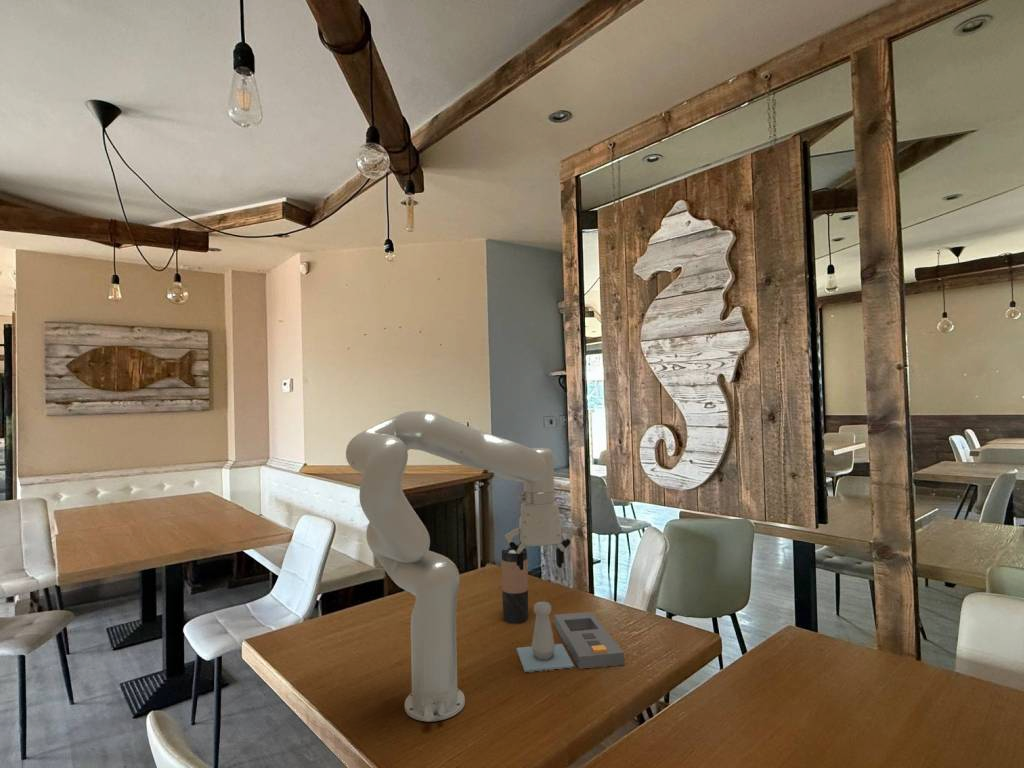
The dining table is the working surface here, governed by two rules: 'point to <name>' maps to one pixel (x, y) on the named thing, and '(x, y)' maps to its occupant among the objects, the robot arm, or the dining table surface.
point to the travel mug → (514, 587)
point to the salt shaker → (543, 632)
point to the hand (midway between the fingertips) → (540, 567)
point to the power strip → (588, 640)
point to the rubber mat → (534, 664)
